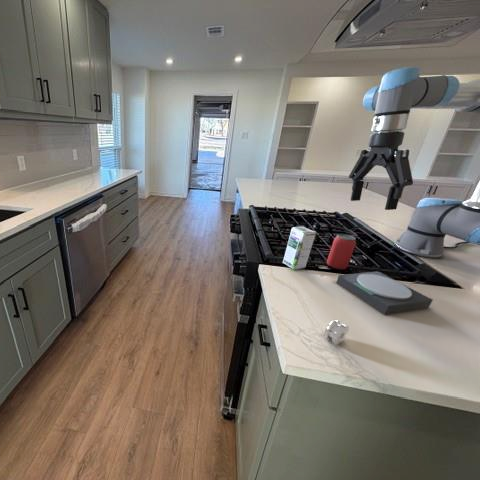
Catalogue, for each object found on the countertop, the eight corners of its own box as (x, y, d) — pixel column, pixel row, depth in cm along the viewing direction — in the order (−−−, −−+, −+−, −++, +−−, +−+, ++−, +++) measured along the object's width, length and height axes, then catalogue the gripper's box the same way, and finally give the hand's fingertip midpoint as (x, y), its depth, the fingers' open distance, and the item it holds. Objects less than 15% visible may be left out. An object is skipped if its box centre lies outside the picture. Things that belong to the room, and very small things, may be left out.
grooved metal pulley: (333, 347, 58) (340, 331, 56) (320, 339, 61) (326, 323, 59) (344, 339, 61) (351, 323, 59) (331, 331, 63) (337, 315, 61)
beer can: (350, 271, 92) (361, 241, 87) (330, 269, 93) (340, 239, 88) (341, 262, 97) (352, 234, 93) (323, 260, 99) (332, 232, 94)
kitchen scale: (374, 278, 87) (378, 269, 86) (428, 308, 73) (434, 298, 72) (336, 283, 84) (339, 273, 83) (384, 314, 70) (389, 304, 68)
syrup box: (281, 262, 96) (290, 227, 90) (294, 260, 98) (303, 225, 92) (293, 270, 91) (303, 233, 85) (306, 268, 93) (317, 231, 87)
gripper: (343, 135, 84) (333, 198, 92) (417, 129, 61) (395, 215, 68) (366, 133, 84) (353, 196, 92) (448, 127, 61) (422, 213, 68)
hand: (371, 204), depth 80 cm, fingers open, 13 cm apart
